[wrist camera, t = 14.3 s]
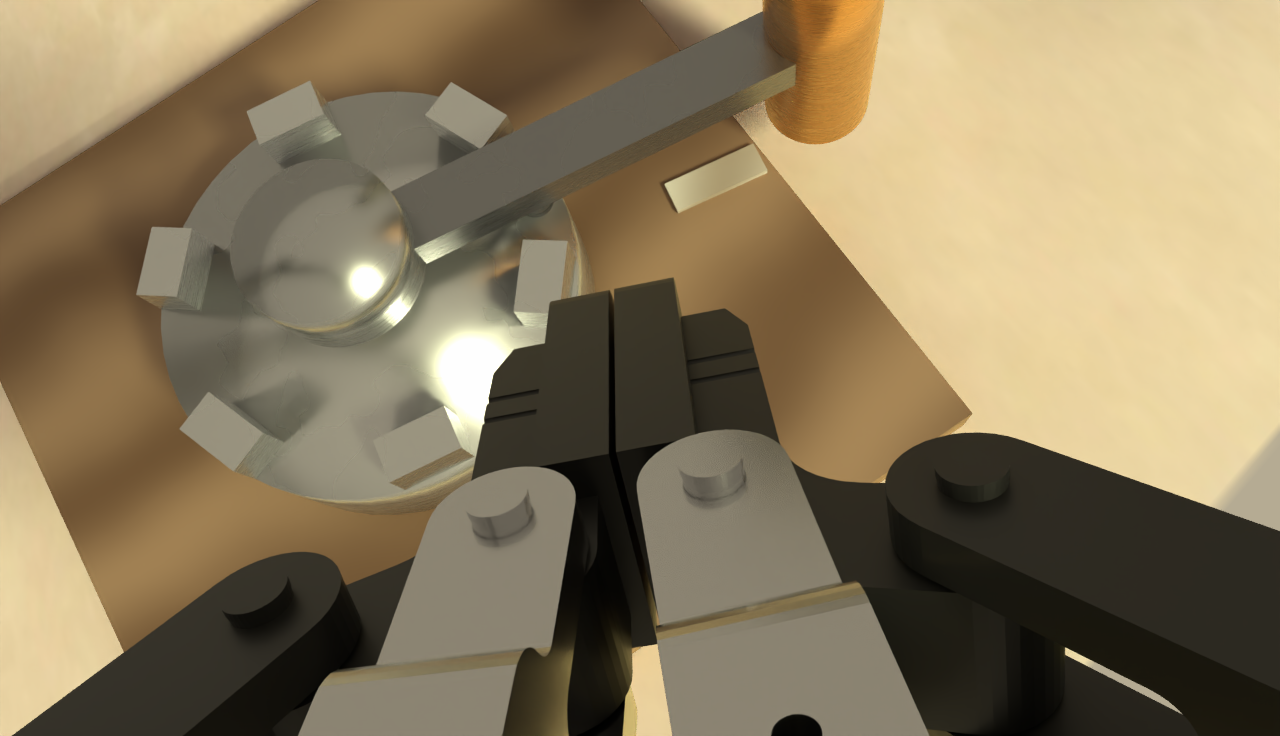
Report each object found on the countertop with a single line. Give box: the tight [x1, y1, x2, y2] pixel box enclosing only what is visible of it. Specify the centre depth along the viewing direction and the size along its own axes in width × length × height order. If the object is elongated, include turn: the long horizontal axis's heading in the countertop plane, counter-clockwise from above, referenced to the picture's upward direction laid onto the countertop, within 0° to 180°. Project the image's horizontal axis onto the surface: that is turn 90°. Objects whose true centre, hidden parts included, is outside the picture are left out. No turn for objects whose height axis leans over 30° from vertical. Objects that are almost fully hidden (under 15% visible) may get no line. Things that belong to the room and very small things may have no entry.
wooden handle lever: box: [136, 0, 884, 515], centre depth 24 cm, size 22×12×14 cm, turn 115°
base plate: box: [0, 0, 972, 653], centre depth 32 cm, size 24×24×2 cm
